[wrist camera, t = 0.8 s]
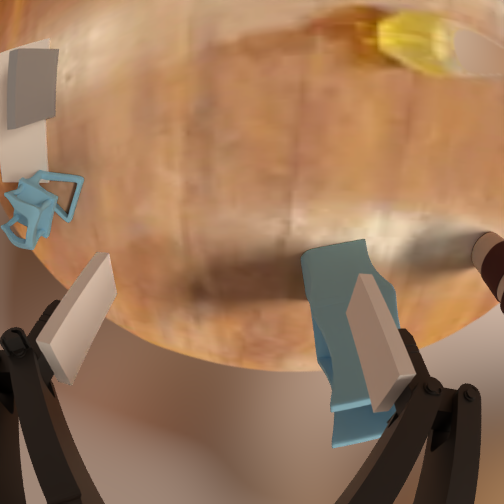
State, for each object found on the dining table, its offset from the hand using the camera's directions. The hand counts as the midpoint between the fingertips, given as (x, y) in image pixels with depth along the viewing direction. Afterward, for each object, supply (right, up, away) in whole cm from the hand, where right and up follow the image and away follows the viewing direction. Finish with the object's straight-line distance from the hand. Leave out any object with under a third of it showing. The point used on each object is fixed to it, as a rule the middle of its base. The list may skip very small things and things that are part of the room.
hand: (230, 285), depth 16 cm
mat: (-33, +22, +17) cm, 43 cm away
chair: (-28, +11, +23) cm, 38 cm away
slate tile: (-26, +25, +15) cm, 39 cm away
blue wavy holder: (+14, -1, +30) cm, 33 cm away
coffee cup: (+42, +2, +27) cm, 51 cm away
